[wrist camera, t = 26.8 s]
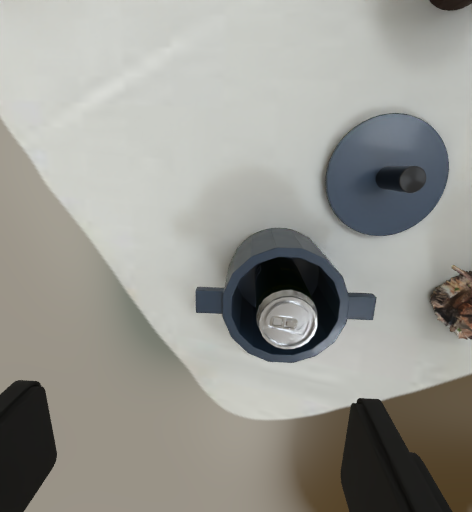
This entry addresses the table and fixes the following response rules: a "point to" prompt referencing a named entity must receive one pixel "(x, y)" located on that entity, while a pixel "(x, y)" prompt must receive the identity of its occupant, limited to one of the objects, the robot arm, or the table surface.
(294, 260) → the pot
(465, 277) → the plant with pod
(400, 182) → the lid
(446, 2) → the coffee mug
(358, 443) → the robot arm
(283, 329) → the beer can
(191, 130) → the table surface
